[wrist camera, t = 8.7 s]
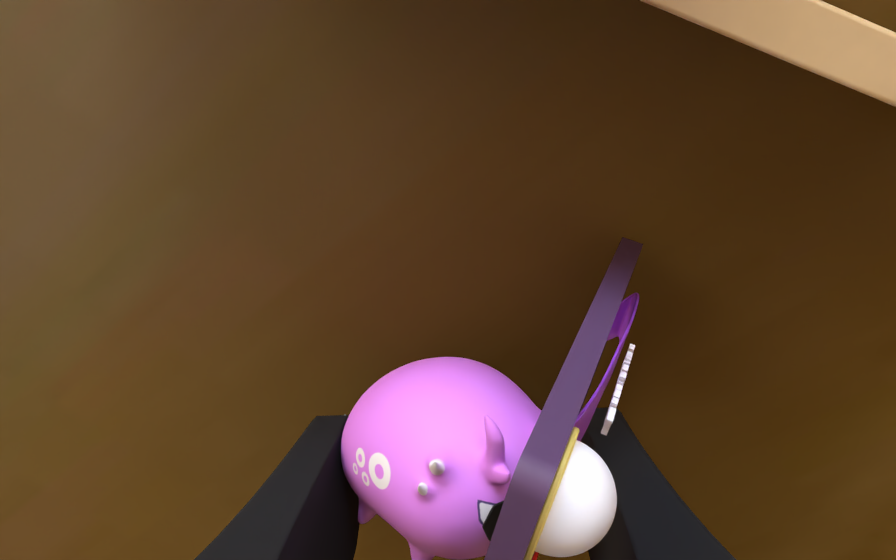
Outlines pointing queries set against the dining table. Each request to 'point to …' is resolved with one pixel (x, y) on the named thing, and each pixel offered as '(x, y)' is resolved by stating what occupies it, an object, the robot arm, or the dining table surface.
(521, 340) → the dining table surface
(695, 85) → the dining table surface
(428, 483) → the purple monster figurine
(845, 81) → the birch box
